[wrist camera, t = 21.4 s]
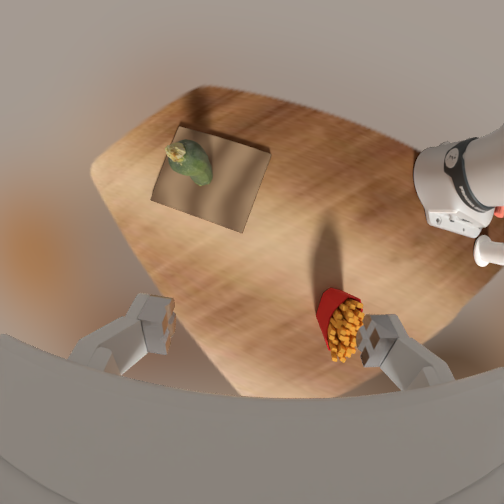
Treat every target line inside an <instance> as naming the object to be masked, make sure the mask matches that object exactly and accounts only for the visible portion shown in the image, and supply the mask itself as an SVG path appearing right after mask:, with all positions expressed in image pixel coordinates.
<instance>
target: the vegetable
mask: <svg viewBox="0 0 504 504" xmlns="http://www.w3.org/2000/svg"><path fill="white" fill-rule="evenodd" d="M165 151H166V153H167V156H168V162H169V165H170V167H171V169H172V170H173V171H175V172H177V173H179V174H182V175H185V176H190V177H191V179H192V180H193V181H194V182H195V183H196V184H198V185H199V186H202V185H206V184H209V183H210V182H211V180H212V178H213V172H212V166H211V164H210V162H209V159H208V155H207V154H206V152H205V150H204V149H203V148H202V147H201V145H200V144H198V143H197V142H195V141H192V140H188V139H184V140H181V141H178V142H176V143H173V144H172V143H171V144H170V145H167V147H166V148H165Z"/></svg>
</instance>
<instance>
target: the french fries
mask: <svg viewBox="0 0 504 504" xmlns="http://www.w3.org/2000/svg"><path fill="white" fill-rule="evenodd" d="M362 308H363V304H362V303H361V300H360V299H359V298H357V297H354V296H352V295H350V294H348V293H346V292H344V291H341V290H338V289H334V288H329V289H328V290H327V291H325V292H324V293H323V295H322V298H321V301H320V304H319V307H318V310H317V314H316V317H317V320H318V323H319V325H320V328H321V331H322V334H323V336H324V339H325V342H326V345H327V347H328V350H330V351H331V356H332V361H335V362H337V356H339V359H340V361H342V362H343V363H344V362H345V361H346V358H345V356H346V357H349V358H350V356H351V353H354V354H355V351H356V349H355V346H357V345H356V334H357V332H358V329H359V328H360V327H361V326H363V322H362V320H363V318H364V313H362V311H363V309H362ZM336 353H337V355H336Z"/></svg>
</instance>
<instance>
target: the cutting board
mask: <svg viewBox="0 0 504 504" xmlns="http://www.w3.org/2000/svg"><path fill="white" fill-rule="evenodd" d="M184 139H188V140H192V141H195V142H197V143H198V144H200V145H201V147H202V148H203V149H204V150H205V152H206V154H207V155H208V159H209V162H210V164H211V166H212V172H213V178H212V180H211V182H210V183H209V184H206V185H202V186H199V185H198V184H196V183H195V182H194V181H193V180H192V179H191V177H190V176H185V175H182V174H179V173H177V172H175V171H173V170H172V169H171V167H170V165H169V162H168V156H167V157H166V159H165V162H164V164H163V167H162V169H161V172H160V175H159V177H158V180H157V183H156V186H155V188H154V191H153V194H152V197H151V201H154V202H157V203H159V204H162V205H165V206H168V207H171V208H173V209H176V210H179V211H182V212H185V213H187V214H190V215H193V216H196V217H198V218H201V219H204V220H207V221H209V222H212V223H215V224H218V225H220V226H223V227H226V228H229V229H231V230H234V231H237V232H239V233H243V230H244V228H245V225H246V222H247V219H248V217H249V214H250V211H251V209H252V206H253V203H254V201H255V198H256V195H257V193H258V190H259V187H260V185H261V182H262V179H263V177H264V174H265V171H266V169H267V166H268V163H269V161H270V158H271V154H269V153H267V152H264V151H261V150H258V149H255V148H252V147H249V146H246V145H243V144H240V143H236V142H233V141H230V140H227V139H223V138H220V137H217V136H213V135H210V134H206V133H203V132H199V131H195V130H191V129H188V128H184V127H180V126H179V128H178V130H177V133H176V135H175V137H174V140H173V142H172V144H173V143H176V142H178V141H181V140H184Z"/></svg>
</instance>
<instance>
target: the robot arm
mask: <svg viewBox="0 0 504 504" xmlns="http://www.w3.org/2000/svg"><path fill="white" fill-rule="evenodd" d="M414 183H415V188H416V191H417V194H418V197H419V199H420V201H421V202H422V204H423V206H424V209H425V213H426V219H427V222H428V224H429V225H431V226H434V227H438V228H441V229H445V230H448V231H451V232H455V233H458V234H461V235H464V236H467V237H471V238H476V237H477V236H478V235H479V234H480V232H481V230H482V228H483V227H486V226H488V225H489V223H490V221H491V219H492V217H493V213H494V215H495V216H497V217H500V218H502V217H503V214H504V124H503V125H502V126H501V127H500V128H499V129H497V130H495V131H493V132H492V133H490V134H488V135H485V136H483V137H481V138H477V137H475V138H468V139H467V140H465V141H459V142H454V143H450V142H444V143H442V144H441V145H439V146H438V147H430V148H427V149H425V150H423V151H422V152H421V153H420V155H419V156H418V158H417V160H416V163H415V167H414ZM495 207H496V208H495ZM494 209H495V211H494ZM436 219H437V221H436ZM174 307H175V302H174V299H173V298H169V297H163V296H157V295H150V294H144V293H139V294H138V295H137V296H136V298H135V300H134V301H133V303H132V305H131V307H130V309H129V310H128V312H127V314H126V316H125V317H120V318H118V319H116V320H115V321H113V322H111V323H109V324H107V325H105V326H104V327H102V328H100V329H98V330H96V331H95V332H93V333H91V334H89V335H87V336H85V337H84V338H82V339H80V340H79V341H78V343H77V344H76V346H75V348H74V349H73V351H72V353H71V354H70V356H69V358H68V360H67V359H64V358H61V357H59V356H56V355H53V354H51V353H48V352H46V351H43V350H41V349H38V348H36V347H34V346H31V345H29V344H26V343H24V342H22V341H20V340H18V339H16V338H14V337H12V336H10V335H7V334H1V335H0V504H504V368H503V367H499V368H496V369H493V370H490V371H487V372H484V373H480V374H477V375H474V376H470V377H466V378H463V379H459V380H455V379H454V377H453V375H452V373H451V371H450V369H449V367H448V365H447V363H446V362H444V361H443V360H442V359H440V358H439V357H437V356H436V355H435V354H433V353H432V352H431V351H429V350H428V349H427V348H425V347H424V346H423V345H421V344H420V343H418V342H417V341H416V340H414V339H413V338H409V336H408V334H407V333H406V331H405V329H404V327H403V325H402V323H401V322H400V320H399V318H398V316H397V315H396V314H366V315H365V316H364V318H363V320H362V322H363V326H361V327H360V328H359V329H358V332H357V334H356V345H357V348H358V349H359V350H360V351H361V352H362V353H361V355H360V357H361V360H362V363H363V366H364V367H380V368H381V369H382V370H383V371H384V372H385V373H386V375H387V376H389V378H390V379H391V380H392V381H393V382H394V383H395V384H396V385H397V386H398V387H399V388H400V389H401V390H402V391H398V392H391V393H383V394H375V395H365V396H353V397H337V398H263V397H247V396H235V395H225V394H216V393H207V392H199V391H193V390H186V389H180V388H174V387H169V386H164V385H158V384H154V383H149V382H144V381H140V380H135V379H131V378H127V377H123V376H121V375H122V374H123V373H124V372H126V371H127V370H128V369H129V368H130V367H131V366H133V365H134V364H135V363H136V362H137V361H139V360H140V359H141V358H142V357H143V356H145V355H146V354H147V352H151V353H157V354H164V355H167V353H168V350H169V347H170V344H171V341H170V337H172V336H173V335H174V332H175V326H176V314H175V313H174V312H173V310H174Z"/></svg>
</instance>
